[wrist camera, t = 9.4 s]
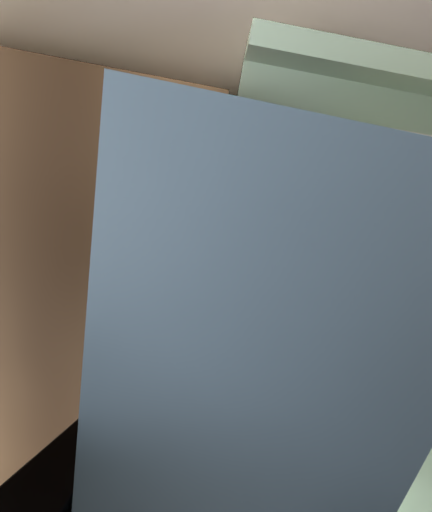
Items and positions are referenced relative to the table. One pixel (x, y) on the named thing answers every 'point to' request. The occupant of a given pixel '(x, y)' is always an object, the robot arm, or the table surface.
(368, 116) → the tray
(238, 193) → the long blue block
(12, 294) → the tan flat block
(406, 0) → the table surface
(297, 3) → the table surface
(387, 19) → the table surface
